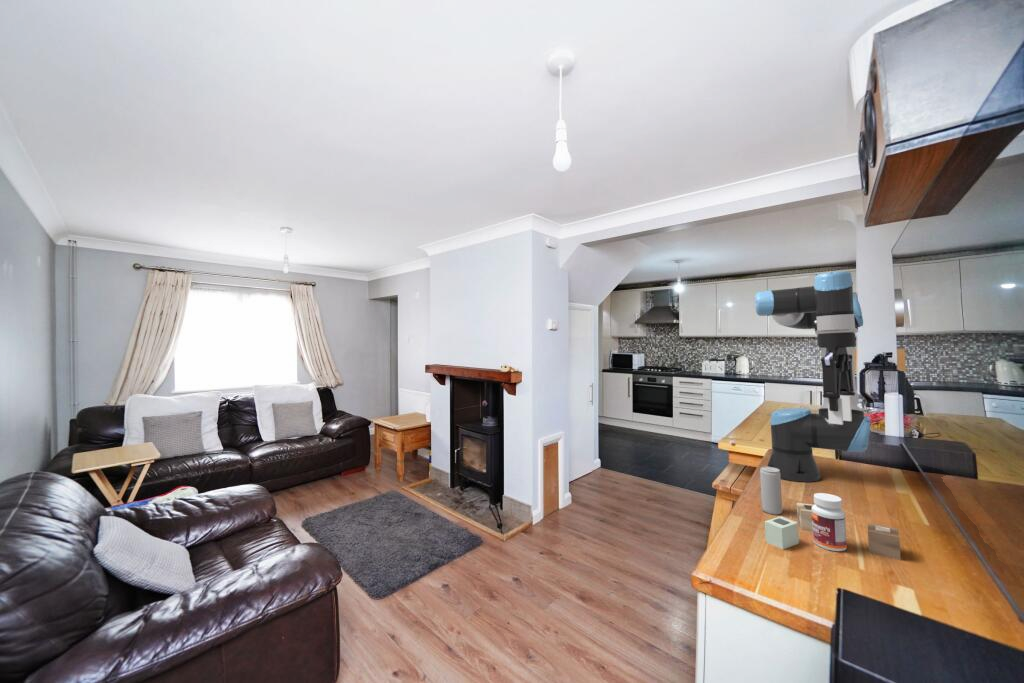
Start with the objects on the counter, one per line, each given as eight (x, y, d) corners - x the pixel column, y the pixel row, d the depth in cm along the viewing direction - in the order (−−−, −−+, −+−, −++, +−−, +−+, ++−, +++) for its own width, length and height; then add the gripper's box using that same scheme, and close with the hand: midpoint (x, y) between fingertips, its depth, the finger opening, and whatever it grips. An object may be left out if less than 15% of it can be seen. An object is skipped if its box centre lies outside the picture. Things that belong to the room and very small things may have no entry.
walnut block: (868, 543, 90) (867, 521, 90) (898, 550, 86) (897, 527, 86) (869, 553, 86) (867, 529, 86) (900, 560, 83) (899, 536, 83)
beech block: (797, 521, 102) (796, 502, 102) (821, 524, 100) (820, 504, 100) (801, 529, 97) (800, 509, 98) (826, 533, 95) (825, 512, 95)
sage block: (781, 536, 95) (780, 515, 95) (799, 543, 91) (797, 521, 91) (765, 542, 93) (764, 520, 93) (782, 549, 89) (781, 527, 89)
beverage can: (785, 515, 105) (783, 472, 105) (766, 515, 106) (764, 471, 106) (777, 508, 110) (775, 466, 110) (758, 507, 111) (756, 466, 111)
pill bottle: (806, 541, 92) (804, 494, 92) (824, 536, 94) (822, 490, 94) (835, 554, 86) (832, 504, 86) (853, 549, 88) (851, 499, 88)
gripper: (831, 332, 107) (835, 415, 107) (803, 333, 97) (808, 425, 97) (866, 330, 101) (871, 419, 100) (840, 331, 91) (845, 429, 90)
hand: (840, 421), depth 98 cm, fingers open, 5 cm apart
